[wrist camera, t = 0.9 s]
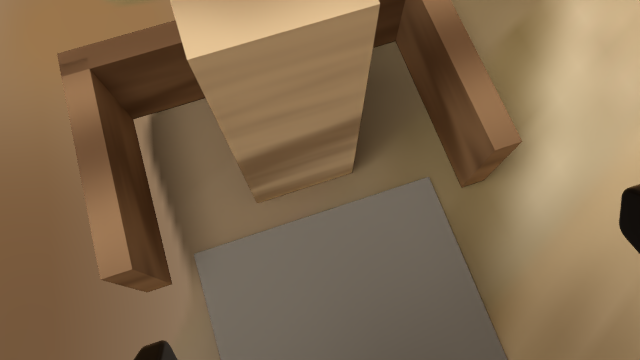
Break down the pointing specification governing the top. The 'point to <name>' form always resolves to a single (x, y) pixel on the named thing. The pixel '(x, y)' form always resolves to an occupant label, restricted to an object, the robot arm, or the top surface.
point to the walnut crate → (182, 87)
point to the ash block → (283, 83)
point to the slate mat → (350, 286)
